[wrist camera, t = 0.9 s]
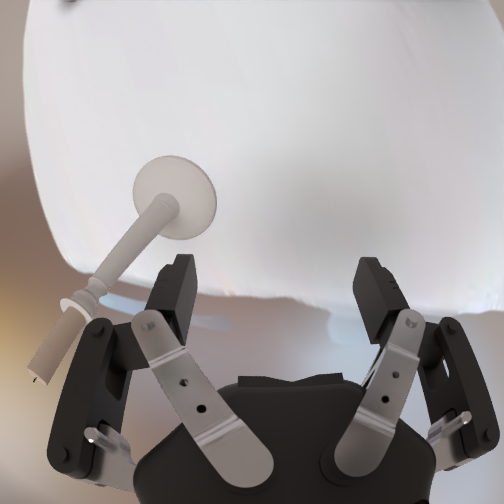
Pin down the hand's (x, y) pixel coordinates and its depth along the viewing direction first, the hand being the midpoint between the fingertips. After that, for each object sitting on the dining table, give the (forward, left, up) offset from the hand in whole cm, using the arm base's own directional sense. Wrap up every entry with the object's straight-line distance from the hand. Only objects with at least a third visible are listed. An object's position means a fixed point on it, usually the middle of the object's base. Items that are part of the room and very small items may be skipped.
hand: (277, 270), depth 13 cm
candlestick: (+14, -9, -23) cm, 29 cm away
